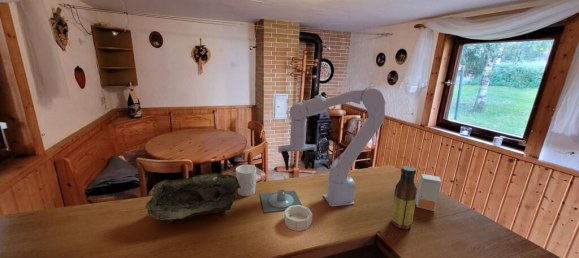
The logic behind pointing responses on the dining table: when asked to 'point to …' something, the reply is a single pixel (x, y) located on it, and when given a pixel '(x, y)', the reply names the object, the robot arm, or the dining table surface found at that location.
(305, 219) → the bowl
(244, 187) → the white cup
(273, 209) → the mat
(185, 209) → the hollow geode rock
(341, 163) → the robot arm
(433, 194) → the skincare box
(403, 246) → the dining table surface
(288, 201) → the lid
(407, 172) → the sauce bottle
